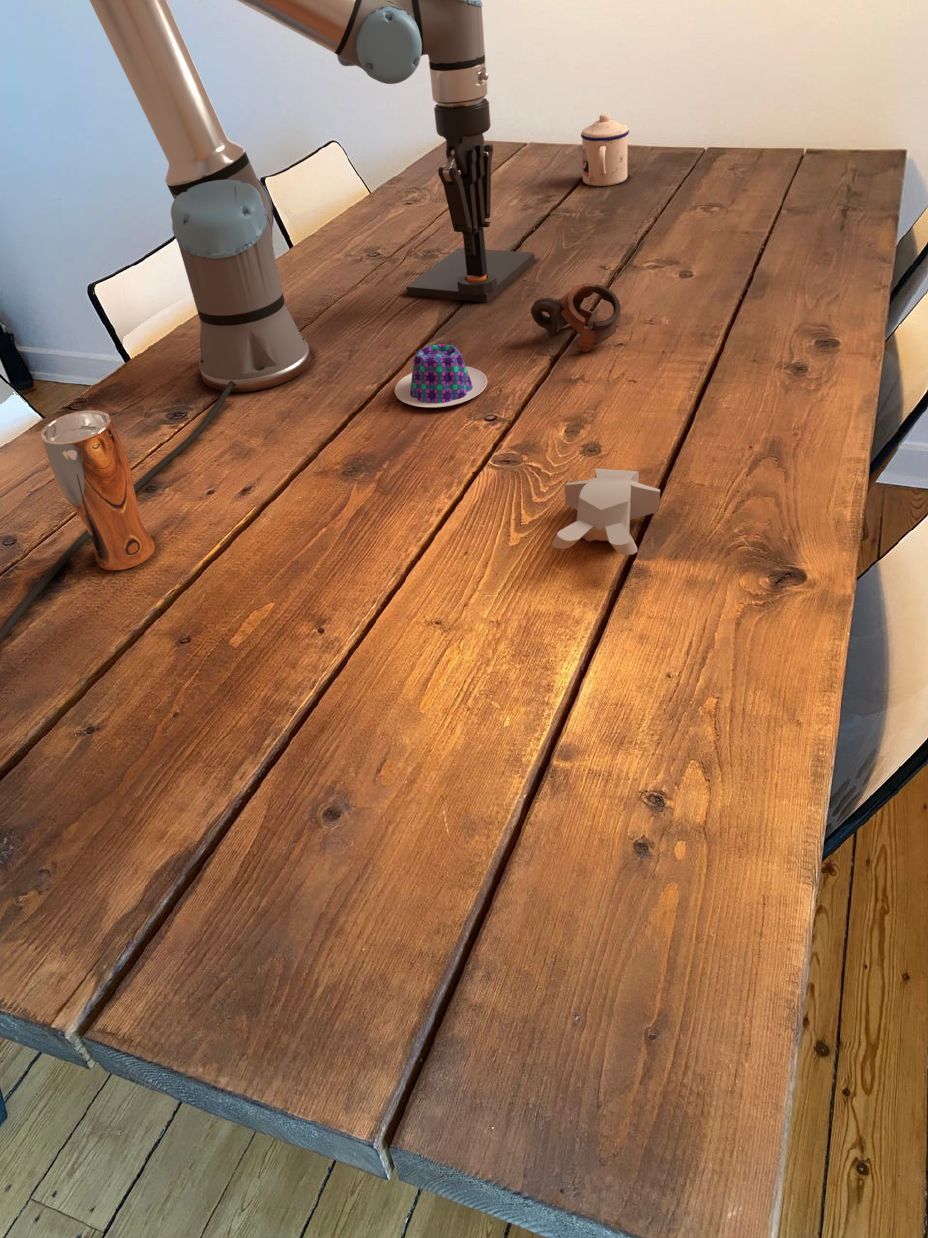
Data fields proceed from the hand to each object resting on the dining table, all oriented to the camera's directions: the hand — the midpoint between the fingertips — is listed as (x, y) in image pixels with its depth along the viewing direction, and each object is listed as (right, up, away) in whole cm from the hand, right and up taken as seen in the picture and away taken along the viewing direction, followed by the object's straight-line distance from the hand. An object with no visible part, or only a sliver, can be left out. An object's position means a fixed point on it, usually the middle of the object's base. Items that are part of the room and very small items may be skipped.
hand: (477, 273), depth 143 cm
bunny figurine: (+12, -44, -49) cm, 67 cm away
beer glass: (-38, -46, -44) cm, 73 cm away
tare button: (0, -1, +1) cm, 2 cm away
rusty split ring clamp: (+13, -14, -13) cm, 24 cm away
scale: (-1, +2, +9) cm, 9 cm away
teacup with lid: (+26, +33, +42) cm, 59 cm away
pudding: (-5, -23, -21) cm, 32 cm away
